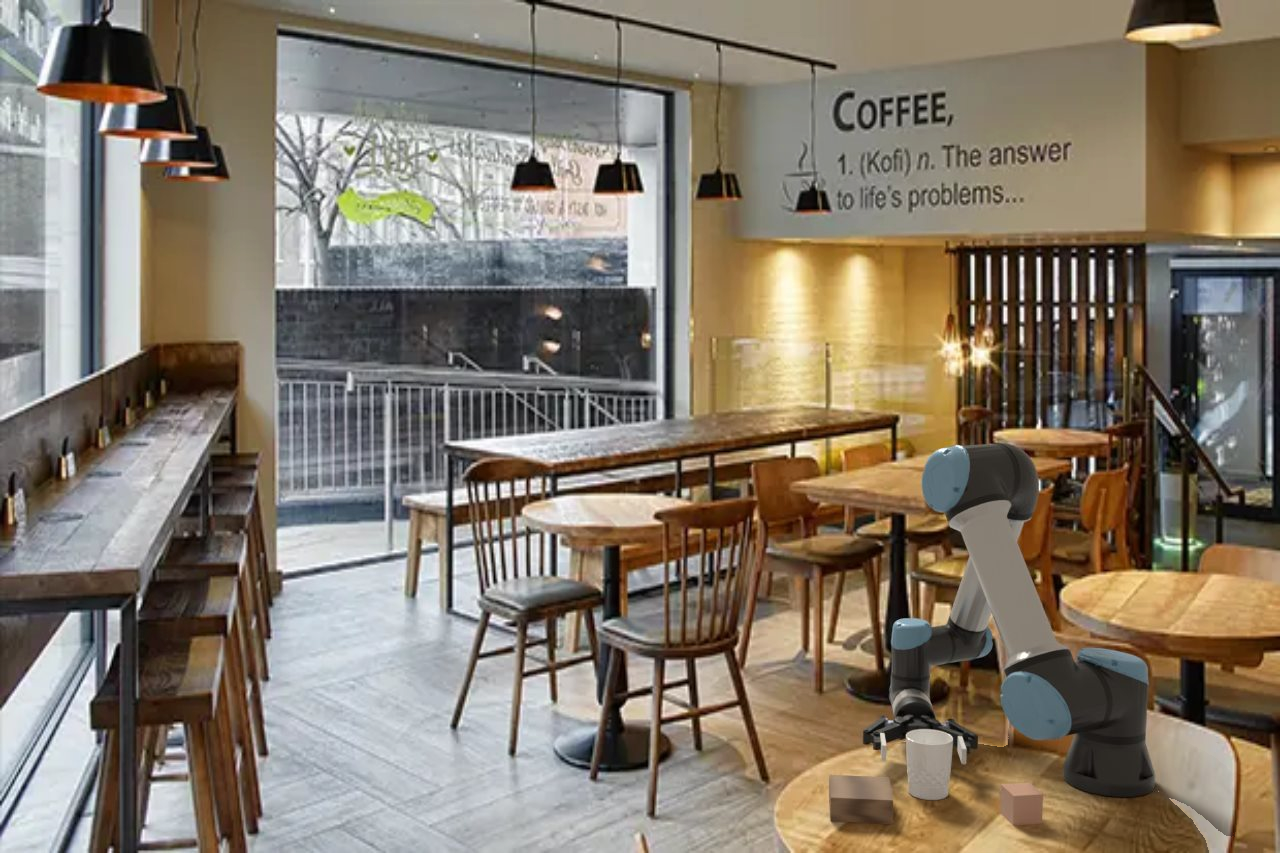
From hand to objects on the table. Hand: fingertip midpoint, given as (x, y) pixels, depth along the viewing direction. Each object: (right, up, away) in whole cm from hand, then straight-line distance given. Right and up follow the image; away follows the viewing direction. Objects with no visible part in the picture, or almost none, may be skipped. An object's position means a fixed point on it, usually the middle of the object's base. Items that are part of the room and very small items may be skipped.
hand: (924, 754), depth 221 cm
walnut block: (-13, -7, -9) cm, 17 cm away
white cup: (0, -6, -2) cm, 7 cm away
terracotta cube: (+13, -7, -12) cm, 19 cm away
